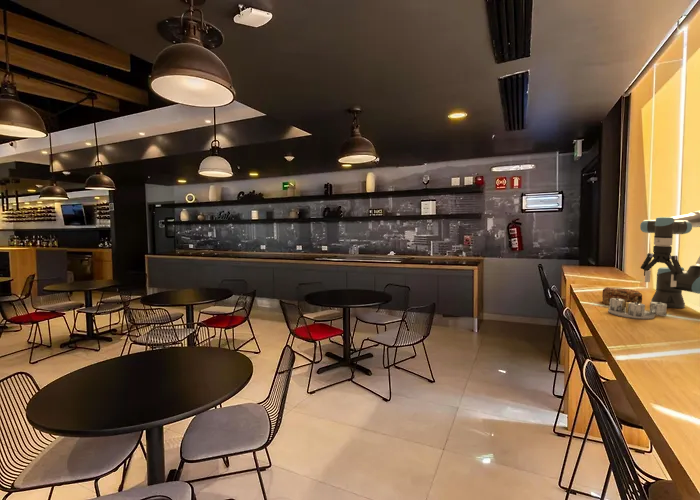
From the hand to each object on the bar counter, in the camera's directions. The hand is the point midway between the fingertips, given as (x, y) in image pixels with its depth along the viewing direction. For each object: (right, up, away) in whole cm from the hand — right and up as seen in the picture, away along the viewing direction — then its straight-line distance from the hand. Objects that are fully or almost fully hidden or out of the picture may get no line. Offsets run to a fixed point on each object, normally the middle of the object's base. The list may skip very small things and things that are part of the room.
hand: (659, 284), depth 195 cm
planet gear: (0, -16, +2) cm, 16 cm away
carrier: (-15, -17, +2) cm, 22 cm away
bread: (-4, -15, +23) cm, 28 cm away
